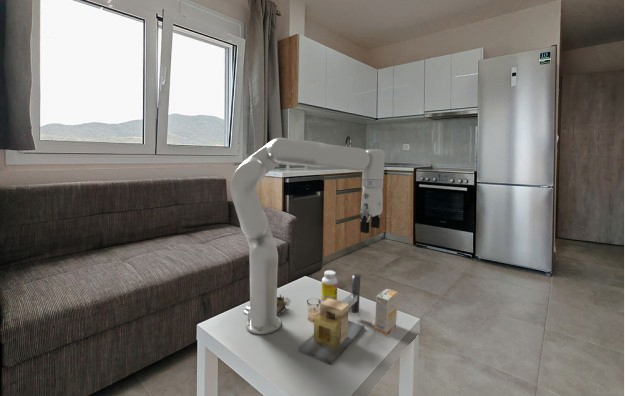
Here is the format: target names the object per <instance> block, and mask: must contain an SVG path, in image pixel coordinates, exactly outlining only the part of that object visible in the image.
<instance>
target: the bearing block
mask: <svg viewBox="0 0 625 396" xmlns="http://www.w3.org/2000/svg"><path fill="white" fill-rule="evenodd" d="M349 309H350V308H349V304H347V303H343V302H341V301H340V300H338V299H337V300H334V299H330V298H327V299H326V300H324V301H323V302H322V301H321V302H320V313H319V315H322V316H325V317H328V318H331V319H334V320H337V321H340V345H339V346H338V347H337V348H336V349H332V348H330V347H327V346H325V345H322V344H320V343H317V342H315V341H314V334H313V335H311V336H310V337H309V338H307V340H306V341H304V342H303V343H302V344H301V345H300V346H298V352H301V353H303V354H306V355H308V356H310V357H312V358H314V359H317V360H320V361H322V362H325V363H326V364H329V365H333V364H334V362H336V360H338V358H339V357H340V356H341V355H342V354H343V353H344V352H345V350H347V348H348V347H349V346H350V345H351V344H352V343H353V342H354V341H355V340H356V338H357V337H358V336H359V335H360V334H361V333H362V332H363V331H364V330H365V325H362V324H360V323H356V322H354V321H351V320H349ZM330 312H331V313H334V314H335V318H332V317H330ZM323 334H326V335H328V336H330V335H331V329H328V328H325V327H323Z"/></svg>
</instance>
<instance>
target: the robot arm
mask: <svg viewBox="0 0 625 396" xmlns="http://www.w3.org/2000/svg"><path fill="white" fill-rule="evenodd" d="M385 154H386V153H385V151H384V150H383V149H372V148H371V149H363V148H362V147H361V148H360V147H352V146H344V145H336V144H328V143H325V142H318V141H311V140H303V139H302V140H301V139H295V138H294V139H293V138H288V137H287V138H286V137H276V138H272V140H270V141H268V143H266V144H265V145H264V146H263V147H261V148H260V149H258V150H257V151H255V152H254V153H253V154H251V155H250V156H248V158H246V159H245V160H243V162H242V163H241V164H240V165H239V166H237V167H238V168H236V170H235V171H234V173H233V174H232V176H231V180H230V184H229V186H230V187H229V188H230V195H231V199H232V202H233V205H234V209H235V212H236V215H237V219H238V221H239V226H240V229H241V232H242V233H243V234H244V235H245V238H246V241H247V243H248V247H249V306H246V307H245V310H244V311H243V315H244V316H247V319H246V321H245V328H246V330H247V331H249V332H250V333H252V334H255V335H256V334H257V335H267V334H271V333H274V332H275V331H278V330H279V329H280V327H281V326H282V320H281V318H280V317H279V315H278V316H277V297H278V264H279V254H278V253H279V252H278V248H277V245H276V242H275V239H274V236H273V235H274V234H273V233H272V230H271V226H270V223H269V220H268V217H267V214H266V213H265V211H264V209H263V208H262V204H261V201H260V197H259V194H258V190H257V188H258V185H259V184H260V183H261V181H262V180H263V179H264V178H265V177H266V175H267V174H268V173H269V172H271V171H272V170H273V169H275V168H276V167H278V166H279V165H280V164H285V165H286V164H287V165H296V166H304V167H305V166H306V167H313V168H328V169H330V168H331V169H340V170H349V171H357V172H360V171H362V173H361V174H362V175H361V177H362V178H361V179H362V180H361V188H362V192H361V201H360V210H359V215H360V216H359V218H360V219H359V221H360V233H363V234H369V233H370V227H371V228H373V229H379V228H380V225H381V223H380V222H381V214H382V213H383V208H384V207H383V204H384V203H383V201H384V199H383V197H384V195H383V188H384V175H385V174H384V173H385Z"/></svg>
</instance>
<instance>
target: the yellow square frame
mask: <svg viewBox="0 0 625 396" xmlns="http://www.w3.org/2000/svg"><path fill="white" fill-rule="evenodd" d="M323 327H325V328H328V329H331V335H330V336H328V335H326V334H323ZM313 335H314V341H315V342H317V343H320V344H322V345H325V346H327V347H330V348H332V349H336V348H337V347H338V346H339V345H340V321H337V320H334V319H331V318H328V317H325V316H322V315H320V314H318V315H317V316H315V317H314V318H313Z"/></svg>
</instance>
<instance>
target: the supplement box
mask: <svg viewBox="0 0 625 396" xmlns="http://www.w3.org/2000/svg"><path fill="white" fill-rule="evenodd" d="M375 297H376V298H375V299H376V300H375V317H374V330H375V331H376V330H377V332H379V333H381V332H382V333H381V334H384V333H385V334H384V335H387V334H389V332H390V331H391V330H392V328H393V327H394V326H395V325H396V326H397V313H398V302H399V301H398V298H399V292H398V291H395V290H393V289H389V288H386V289H384V290H383V291H381V292H380V293H378V294H377V295H376V296H375ZM396 326H395V327H396ZM395 327H394V328H395ZM394 328H393V329H394Z"/></svg>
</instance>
